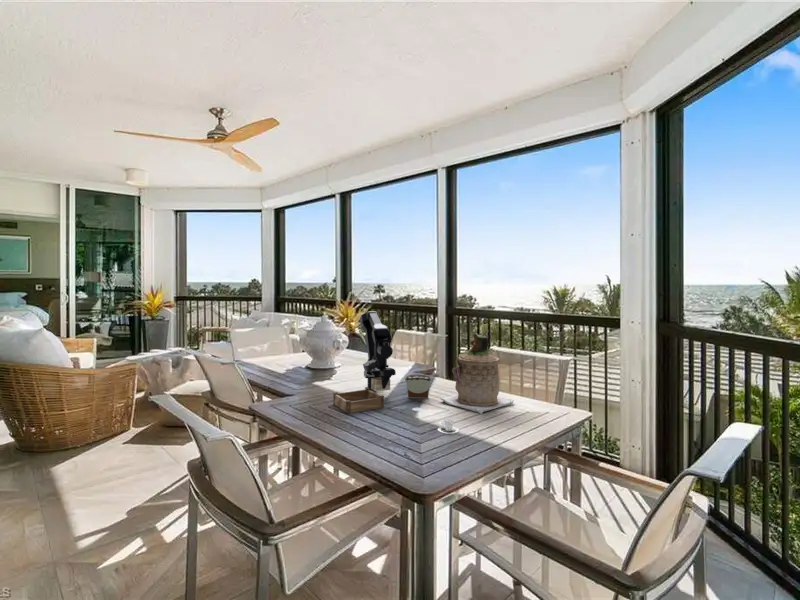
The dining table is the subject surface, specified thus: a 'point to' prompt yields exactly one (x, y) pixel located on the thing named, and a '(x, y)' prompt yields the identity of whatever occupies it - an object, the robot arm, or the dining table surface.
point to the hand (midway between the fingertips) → (380, 387)
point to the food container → (418, 385)
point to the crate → (358, 400)
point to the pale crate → (379, 384)
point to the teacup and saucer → (447, 426)
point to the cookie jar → (477, 379)
